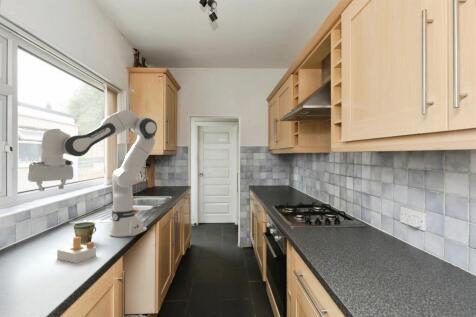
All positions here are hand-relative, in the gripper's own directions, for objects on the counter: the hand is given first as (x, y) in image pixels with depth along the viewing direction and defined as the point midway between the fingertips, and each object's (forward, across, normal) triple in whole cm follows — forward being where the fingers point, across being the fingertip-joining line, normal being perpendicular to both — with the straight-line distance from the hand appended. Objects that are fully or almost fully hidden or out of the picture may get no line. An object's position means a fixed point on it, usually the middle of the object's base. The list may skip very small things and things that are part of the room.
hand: (51, 189), depth 136 cm
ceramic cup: (+29, +14, -7) cm, 33 cm away
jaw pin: (+29, -2, -21) cm, 36 cm away
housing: (+29, -2, -21) cm, 36 cm away
